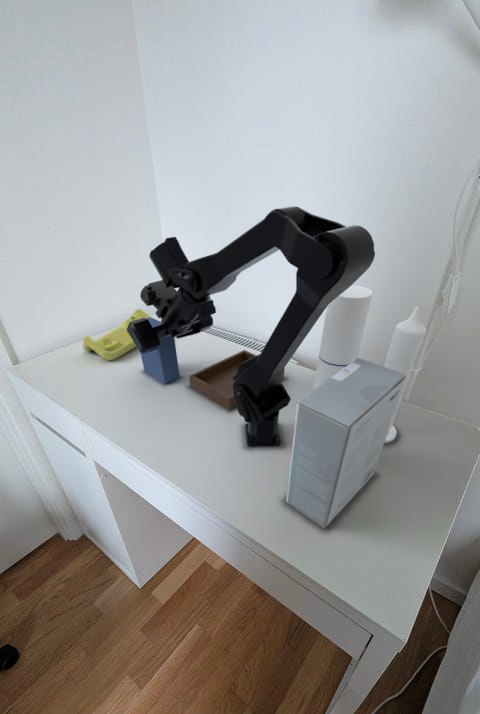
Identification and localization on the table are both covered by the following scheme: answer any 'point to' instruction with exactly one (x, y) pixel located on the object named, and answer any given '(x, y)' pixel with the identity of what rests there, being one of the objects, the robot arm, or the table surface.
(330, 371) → the cylindrical container
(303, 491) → the hard drive box
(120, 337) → the plastic component
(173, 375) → the back pad
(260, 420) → the robot arm
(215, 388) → the tray
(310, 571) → the table surface
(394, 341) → the white nozzle bottle
